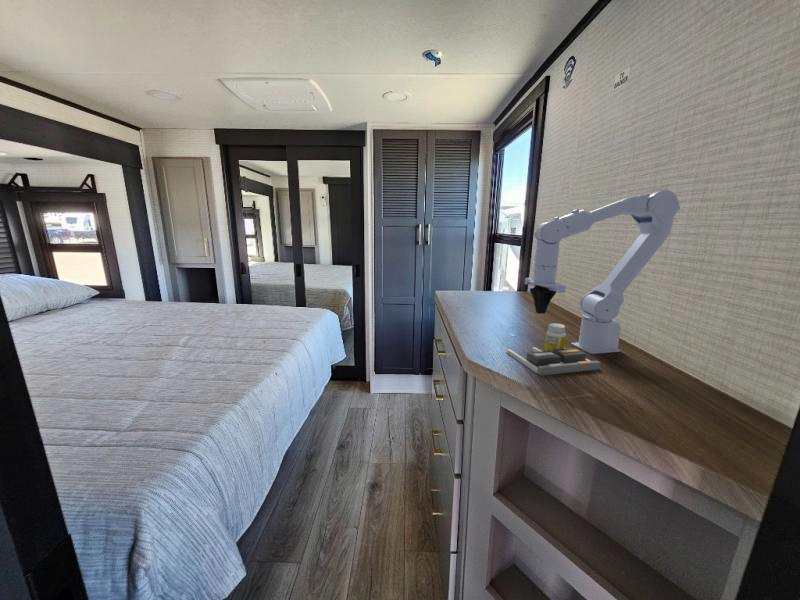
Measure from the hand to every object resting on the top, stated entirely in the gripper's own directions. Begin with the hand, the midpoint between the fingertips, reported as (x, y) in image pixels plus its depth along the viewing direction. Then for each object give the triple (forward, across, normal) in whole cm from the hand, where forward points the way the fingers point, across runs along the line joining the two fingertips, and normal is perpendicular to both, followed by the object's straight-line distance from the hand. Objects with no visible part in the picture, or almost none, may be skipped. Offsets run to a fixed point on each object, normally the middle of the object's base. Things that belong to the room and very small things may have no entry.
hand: (540, 312), depth 88 cm
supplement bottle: (+10, +7, 0) cm, 12 cm away
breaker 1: (+10, +13, -8) cm, 18 cm away
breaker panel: (+10, +10, -4) cm, 15 cm away
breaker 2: (+10, +13, 0) cm, 16 cm away
